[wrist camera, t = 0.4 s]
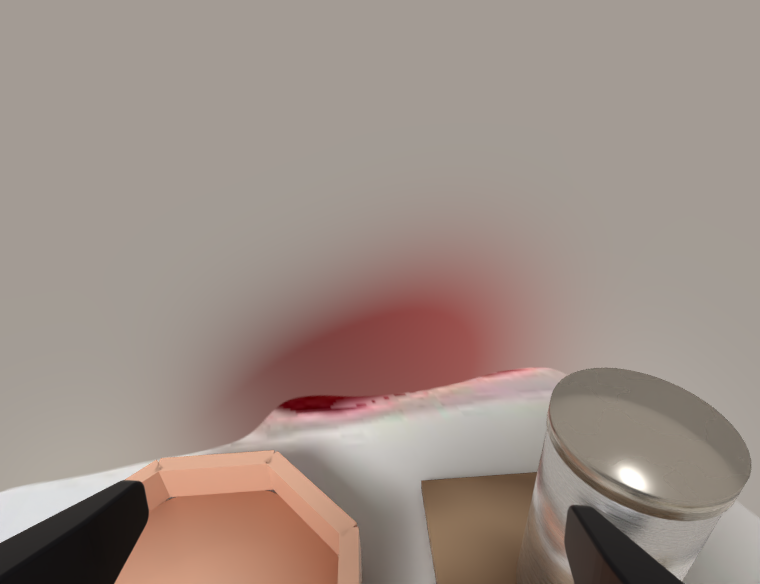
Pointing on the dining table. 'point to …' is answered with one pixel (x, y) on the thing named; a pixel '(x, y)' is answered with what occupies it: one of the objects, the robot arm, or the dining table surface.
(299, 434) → the dining table surface
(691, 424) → the polished metal canister
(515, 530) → the walnut board
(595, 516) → the robot arm
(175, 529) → the terracotta bowl
